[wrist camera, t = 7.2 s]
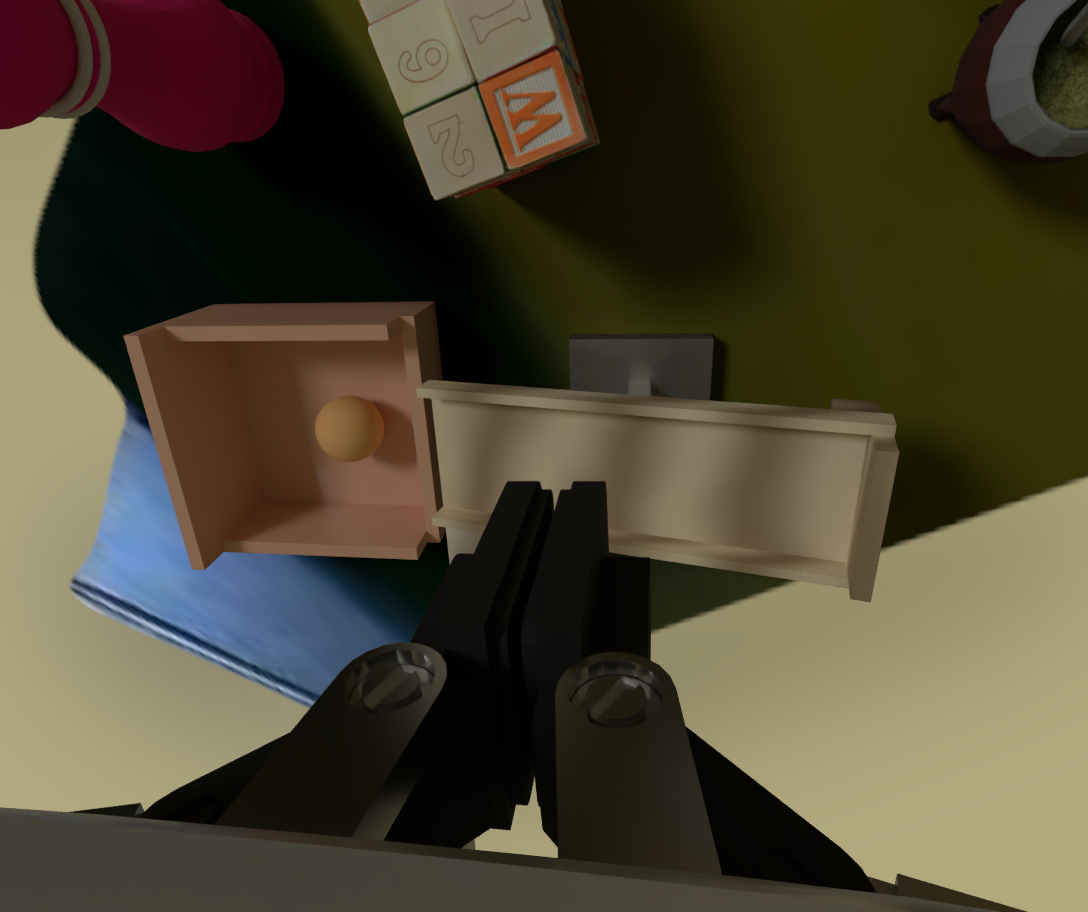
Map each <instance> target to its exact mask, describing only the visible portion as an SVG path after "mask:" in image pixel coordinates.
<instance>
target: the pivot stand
mask: <svg viewBox="0 0 1088 912" xmlns="http://www.w3.org/2000/svg"><path fill="white" fill-rule="evenodd" d="M713 343H714V338H713V335H712V333H704V334H571V336H570V339H569V354H570V390H573V391H587V392H600V393H614V394H627V395H641V396H655V397H668V398H682V399H695V400H709V401H710V389H711V374H712V358H713Z"/></svg>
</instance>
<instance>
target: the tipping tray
mask: <svg viewBox="0 0 1088 912" xmlns="http://www.w3.org/2000/svg"><path fill="white" fill-rule="evenodd" d="M416 391H417V397H419V398H431V399H432V409H433V418H434V427H435V436H436V445H437V454H438V463H439V472H440V481H441V490H442V499H443V507H442V508H441V509H440V510H439V511H438V512H437V513H436V514H435V515H434V516H433V517H432V525H433V526H440V527H446V535H447V544H448V553H449V562H450V564H451V562H452V560H453V558H454V557H455V555H456V554H459V553H470V554H473V553H474V551H475V549H476V547H477V545H478V543H479V540H480V538H481V536H482V534H483V532H484V530H485V528H486V525H487V523H488V521H489V519H490V517H491V515H492V512H493V510H494V508H495V506H496V504H497V502H498V499H499V497H500V495H501V493H502V491H503V489H504V486H505V484H506V483H507V481H540V483H541V487H542V489H552V492H553V499H554V510H555V507H556V503H557V500H558V496H559V493H560V490H561V489H571V486H572V483H573V481H605V482H606V488H607V512H608V538H609V552H612V553H618V554H625V555H632V556H638V557H650V558H651V559H658V560H665V561H671V562H678V563H684V564H691V565H698V566H704V567H711V568H718V569H724V570H731V571H737V572H744V573H751V574H757V575H764V576H771V577H777V578H784V579H790V580H797V581H804V582H811V583H817V584H824V585H831V586H837V587H844V588H849V591H850V599H853V600H860V601H866V602H871V597H872V592H873V587H874V581H875V576H876V571H877V566H878V561H879V556H880V550H881V545H882V540H883V535H884V530H885V524H886V519H887V514H888V509H889V503H890V498H891V493H892V488H893V483H894V477H895V472H896V467H897V462H898V456H899V450H898V447H897V444H896V441H895V432H896V426H897V425H896V422H895V419H894V417H893V414H885V413H882V411H881V408H880V405H879V402H872V401H858V400H843V399H832V404H831V409H818V408H804V407H790V406H777V405H763V404H750V403H736V402H722V401H709V400H695V399H682V398H668V397H655V396H641V395H627V394H614V393H600V392H587V391H573V390H559V389H546V388H532V387H519V386H505V385H492V384H478V383H464V382H451V381H437V380H428V381H427V382H425V383H424V384H422V385H420V386H419V387H417V388H416Z"/></svg>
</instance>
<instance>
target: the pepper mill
mask: <svg viewBox="0 0 1088 912" xmlns="http://www.w3.org/2000/svg"><path fill="white" fill-rule="evenodd" d="M284 94H285V83H284V73H283V69H282V65H281V61H280V59H279V56H278V54H277V51H276V49H275V47H274V46H273V44H272V42H271V41H270V39H269V37H268V36H267V35H266V34H265V33H264V32H263V30H262V29H261V28H260V27H259V26H258V25H256V24H255V23H254V22H253V21H252V20H250V19H249V18H248V17H246V16H244V15H243V14H241V13H239V12H236V11H234V10H231V9H228V8H226V7H225V6H224V5H223V4H222V3H221V2H220V1H219V0H0V129H10V128H13V127H17V126H20V125H24V124H26V123H30V122H32V121H33V120H35V119H36V118H38V117H53V118H61V119H66V118H75V117H79V116H82V115H84V114H86V113H87V112H89V111H91V110H92V109H93V108H94V107H98V108H101V109H103V110H105V111H106V112H108V113H109V114H111V115H112V116H114V117H115V118H116V119H118V120H119V121H120V122H121V123H123V124H124V125H125V126H127V127H128V128H130V129H131V130H133V131H134V132H136V133H138V134H139V135H141V136H143V137H145V138H147V139H150V140H152V141H154V142H156V143H158V144H161V145H164V146H167V147H170V148H175V149H181V150H187V151H208V150H214V149H217V148H220V147H222V146H224V145H226V144H228V143H230V142H247V141H252V140H254V139H257V138H259V137H261V136H262V135H264V134H265V133H266V132H268V131H269V130H270V129H271V127H272V126H273V125H274V124H275V122H276V121H277V119H278V117H279V115H280V113H281V109H282V106H283V103H284Z"/></svg>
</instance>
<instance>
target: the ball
mask: <svg viewBox="0 0 1088 912" xmlns="http://www.w3.org/2000/svg"><path fill="white" fill-rule="evenodd" d="M315 434H316V438H317V441H318V443H319V445H320V446H321V448H322V449H323V450H324V451H325V452H326V453H327V454H328V455H329V456H331V457H333V458H335V459H337V460H340V461H345V462H356V461H360V460H363V459H365V458H367V457H369V456H370V455H372V454H373V453H374V452H375V451H376V450H377V449H378V447H379V446H380V444H381V442H382V439H383V436H384V422H383V419H382V416H381V414H380V412H379V411H378V409H377V408H376V407H375V406H374V405H373V404H372V403H371V402H369V401H367V400H366V399H364V398H361V397H358V396H341V397H337V398H335V399H333V400H331V401H329V402H328V403H327V404H326V405H325V406H324V407H323V408H322V409H321V410H320V412H319V414H318V416H317V419H316V423H315Z"/></svg>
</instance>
